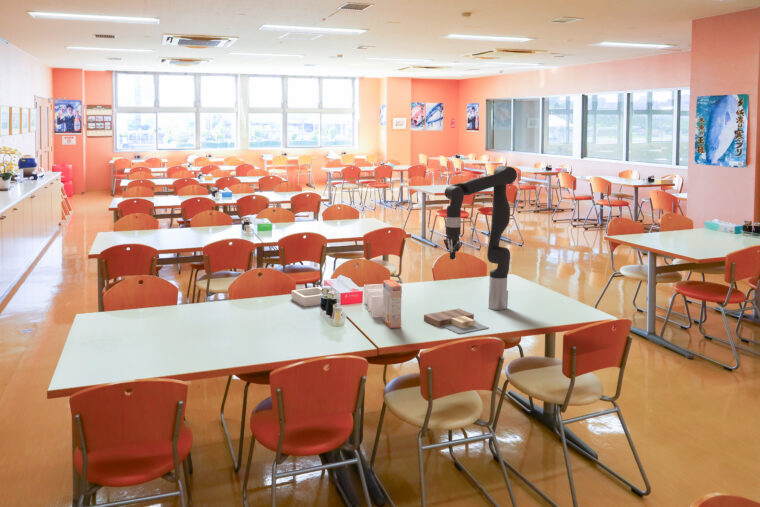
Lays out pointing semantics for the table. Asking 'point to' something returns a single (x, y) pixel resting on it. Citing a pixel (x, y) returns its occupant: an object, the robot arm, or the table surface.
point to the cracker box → (392, 303)
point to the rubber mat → (465, 330)
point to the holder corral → (307, 296)
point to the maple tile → (462, 322)
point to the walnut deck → (446, 317)
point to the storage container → (374, 299)
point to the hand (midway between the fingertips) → (452, 259)
